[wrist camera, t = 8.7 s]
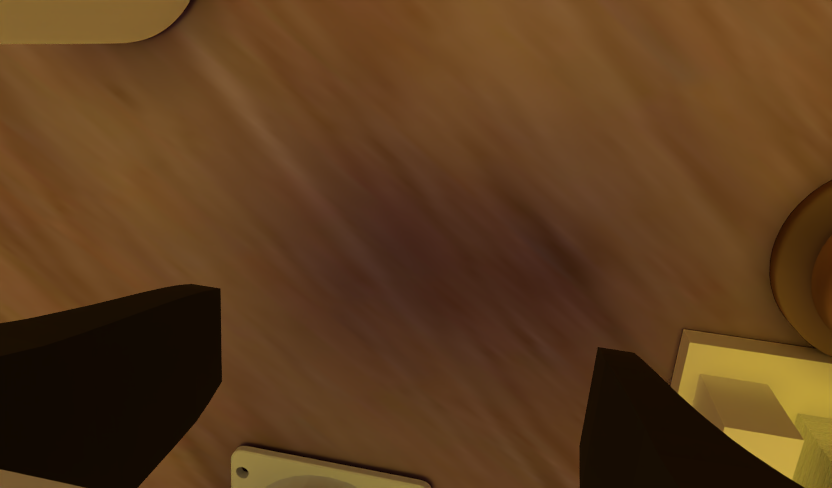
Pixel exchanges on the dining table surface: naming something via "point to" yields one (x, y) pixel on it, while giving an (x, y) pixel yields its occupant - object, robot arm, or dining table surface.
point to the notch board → (754, 391)
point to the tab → (814, 452)
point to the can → (85, 20)
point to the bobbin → (806, 269)
